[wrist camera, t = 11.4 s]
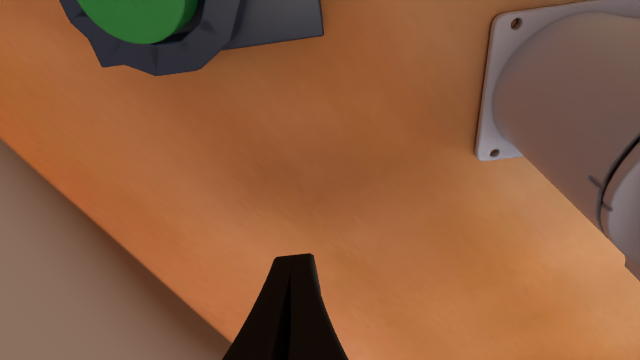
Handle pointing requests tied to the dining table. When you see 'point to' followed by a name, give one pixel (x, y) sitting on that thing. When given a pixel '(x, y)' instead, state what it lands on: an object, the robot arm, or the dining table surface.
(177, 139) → the dining table surface
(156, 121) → the dining table surface
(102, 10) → the button
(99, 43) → the switch box
